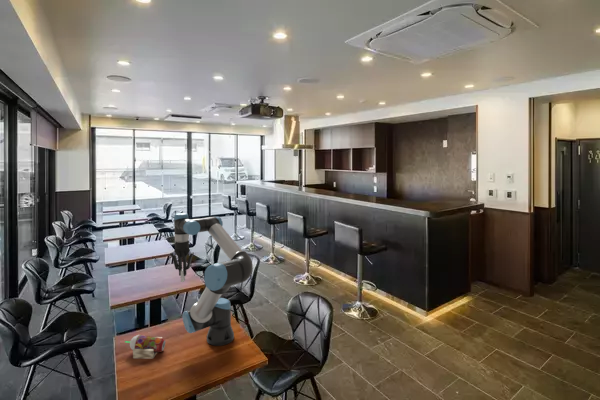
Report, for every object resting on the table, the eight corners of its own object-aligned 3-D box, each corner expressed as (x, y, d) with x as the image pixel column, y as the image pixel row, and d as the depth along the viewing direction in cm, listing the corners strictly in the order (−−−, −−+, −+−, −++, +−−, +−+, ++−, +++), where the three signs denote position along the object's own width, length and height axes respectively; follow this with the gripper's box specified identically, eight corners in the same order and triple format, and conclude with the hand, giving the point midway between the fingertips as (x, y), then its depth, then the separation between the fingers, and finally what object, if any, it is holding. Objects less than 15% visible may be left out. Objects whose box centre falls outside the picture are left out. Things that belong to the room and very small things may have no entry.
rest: (163, 344, 184) (162, 337, 184) (152, 358, 171) (152, 350, 171) (144, 344, 184) (144, 336, 184) (133, 358, 171) (132, 350, 171)
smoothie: (160, 346, 172) (120, 342, 171) (161, 357, 176) (122, 353, 174) (166, 333, 180) (128, 329, 178) (166, 344, 183) (129, 340, 182)
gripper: (195, 239, 192) (196, 278, 195) (172, 238, 192) (173, 278, 195) (191, 242, 184) (192, 283, 187) (167, 242, 184) (168, 283, 187)
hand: (182, 280), depth 191 cm, fingers closed
